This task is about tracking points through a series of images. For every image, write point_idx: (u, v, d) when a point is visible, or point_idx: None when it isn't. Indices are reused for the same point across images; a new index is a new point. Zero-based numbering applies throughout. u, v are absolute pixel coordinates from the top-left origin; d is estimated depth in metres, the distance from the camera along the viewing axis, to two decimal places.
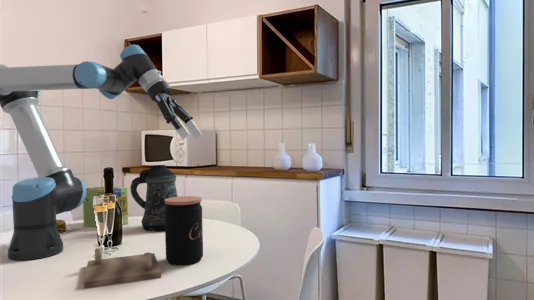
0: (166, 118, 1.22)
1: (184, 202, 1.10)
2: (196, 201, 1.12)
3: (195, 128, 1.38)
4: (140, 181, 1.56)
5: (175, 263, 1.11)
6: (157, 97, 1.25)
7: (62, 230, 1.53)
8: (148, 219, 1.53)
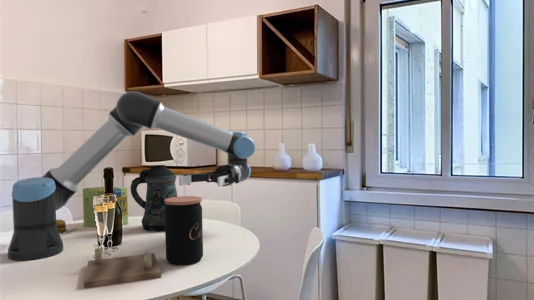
0: (238, 177, 1.28)
1: (184, 202, 1.10)
2: (196, 201, 1.12)
3: (186, 182, 1.29)
4: (140, 181, 1.56)
5: (175, 263, 1.11)
6: None
7: (62, 230, 1.53)
8: (148, 219, 1.53)
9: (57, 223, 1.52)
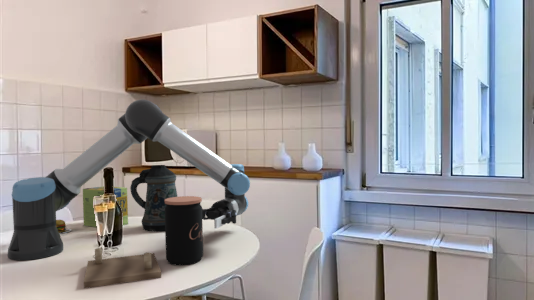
0: (235, 217, 1.25)
1: (184, 202, 1.10)
2: (196, 201, 1.12)
3: None
4: (140, 181, 1.56)
5: (175, 263, 1.11)
6: (235, 214, 1.33)
7: (62, 230, 1.53)
8: (148, 218, 1.53)
9: (57, 223, 1.52)
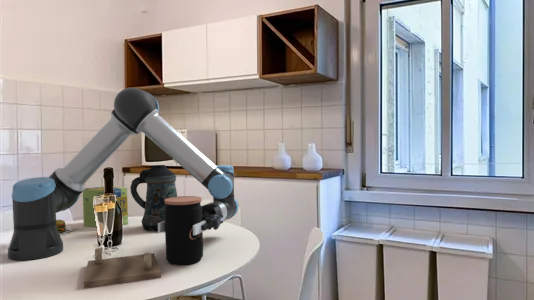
0: (216, 222, 1.16)
1: (184, 202, 1.10)
2: (196, 201, 1.12)
3: None
4: (140, 181, 1.56)
5: (175, 263, 1.11)
6: (222, 219, 1.24)
7: (62, 230, 1.53)
8: (148, 219, 1.53)
9: (57, 223, 1.52)
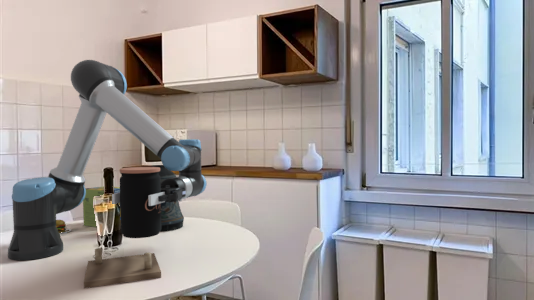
0: (176, 194, 1.09)
1: (139, 170, 1.03)
2: (153, 170, 1.05)
3: None
4: None
5: (130, 236, 1.04)
6: (184, 192, 1.17)
7: (63, 230, 1.53)
8: None
9: (57, 223, 1.52)
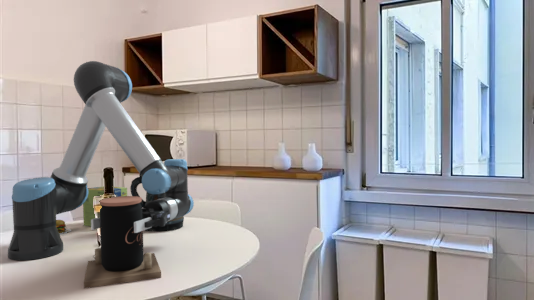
0: (163, 219, 1.07)
1: (119, 203, 1.01)
2: (133, 202, 1.03)
3: None
4: (140, 181, 1.56)
5: (110, 269, 1.02)
6: (169, 215, 1.16)
7: (63, 230, 1.53)
8: None
9: (58, 223, 1.52)
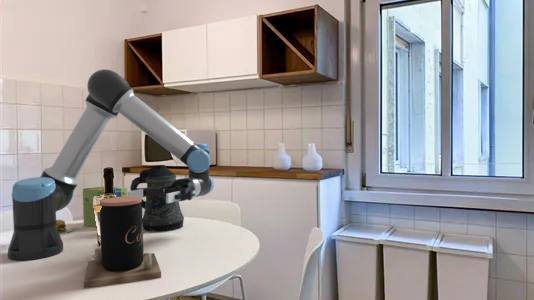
0: (190, 193, 1.22)
1: (119, 203, 1.01)
2: (133, 202, 1.03)
3: None
4: (140, 181, 1.56)
5: (110, 269, 1.02)
6: (194, 192, 1.30)
7: (63, 230, 1.53)
8: (148, 219, 1.53)
9: (58, 223, 1.52)
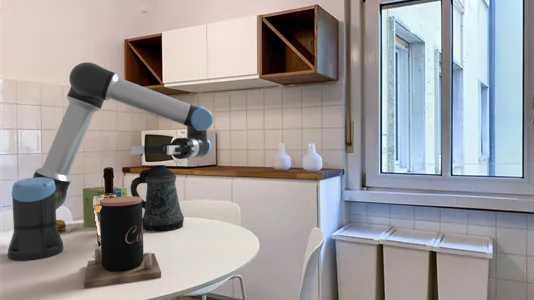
0: (190, 147, 1.27)
1: (119, 203, 1.01)
2: (134, 202, 1.03)
3: (137, 152, 1.28)
4: (140, 181, 1.56)
5: (110, 269, 1.02)
6: (193, 148, 1.36)
7: (63, 230, 1.53)
8: (148, 219, 1.53)
9: (58, 223, 1.52)
